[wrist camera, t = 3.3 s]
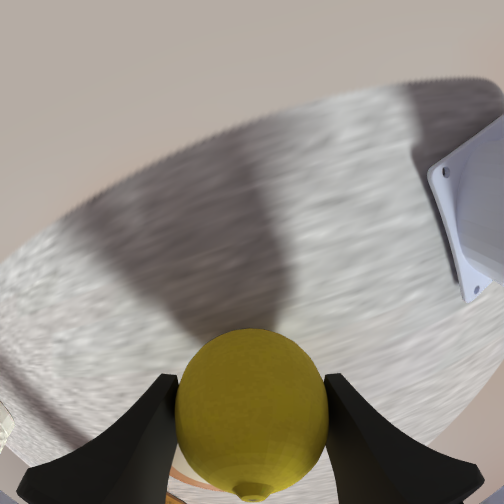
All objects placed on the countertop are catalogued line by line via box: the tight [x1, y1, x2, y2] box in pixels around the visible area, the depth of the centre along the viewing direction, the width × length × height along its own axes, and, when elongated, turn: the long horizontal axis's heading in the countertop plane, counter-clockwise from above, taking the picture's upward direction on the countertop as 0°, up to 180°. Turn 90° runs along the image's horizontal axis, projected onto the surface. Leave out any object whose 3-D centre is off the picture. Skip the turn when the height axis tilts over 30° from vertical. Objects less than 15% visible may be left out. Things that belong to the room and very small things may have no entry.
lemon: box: [175, 328, 329, 502], centre depth 9 cm, size 6×6×8 cm
